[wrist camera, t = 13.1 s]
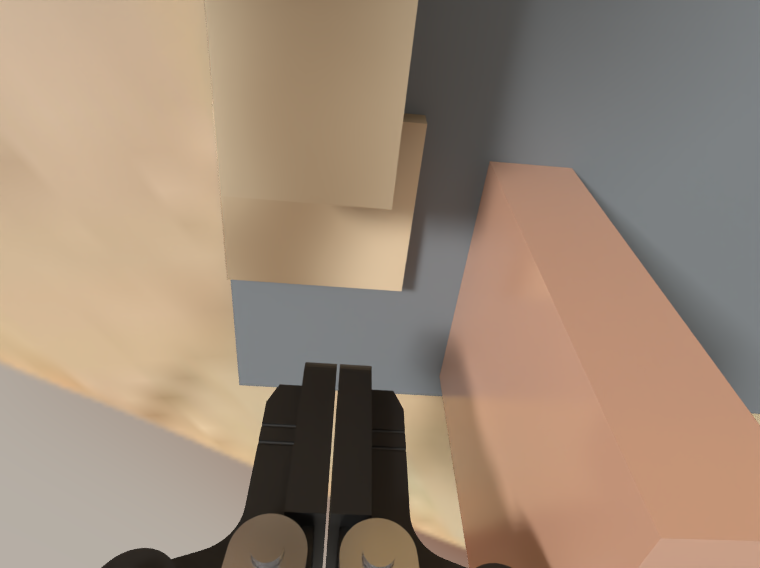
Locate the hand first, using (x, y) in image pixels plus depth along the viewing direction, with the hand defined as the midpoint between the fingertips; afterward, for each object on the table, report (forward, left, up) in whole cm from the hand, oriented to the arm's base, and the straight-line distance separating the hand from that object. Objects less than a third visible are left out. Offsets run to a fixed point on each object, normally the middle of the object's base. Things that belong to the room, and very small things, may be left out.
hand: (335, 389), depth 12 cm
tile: (-5, 0, -5) cm, 7 cm away
